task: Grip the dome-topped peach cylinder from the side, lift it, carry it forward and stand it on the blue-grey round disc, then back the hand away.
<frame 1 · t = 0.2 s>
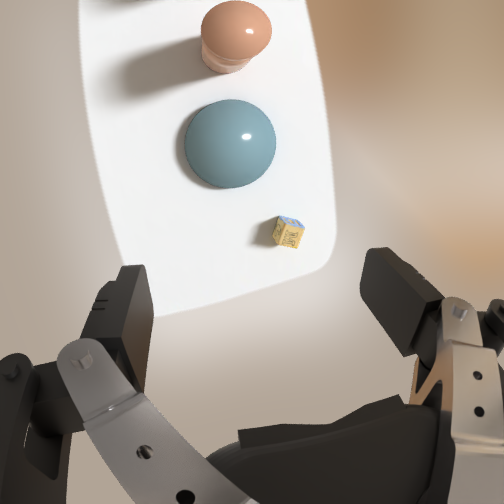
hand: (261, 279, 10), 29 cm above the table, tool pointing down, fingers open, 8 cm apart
alphabet block: (284, 227, 42), on the table
blue-grey round disc: (230, 143, 35), on the table
dome-topped peach cylinder: (226, 51, 30), on the table
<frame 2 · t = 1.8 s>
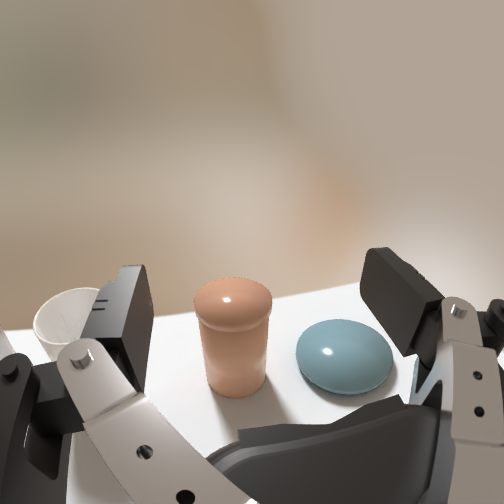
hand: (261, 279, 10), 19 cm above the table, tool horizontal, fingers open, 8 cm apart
white cup: (105, 387, 26), on the table
blue-grey round disc: (343, 358, 31), on the table
dome-topped peach cylinder: (235, 375, 29), on the table
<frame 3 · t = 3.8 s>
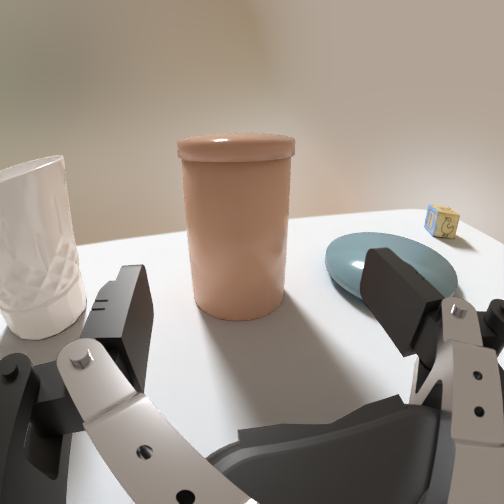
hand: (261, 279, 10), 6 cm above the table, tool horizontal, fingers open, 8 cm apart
white cup: (48, 312, 17), on the table
alphabet block: (438, 235, 30), on the table
blue-grey round disc: (391, 274, 22), on the table
dome-topped peach cylinder: (238, 291, 20), on the table
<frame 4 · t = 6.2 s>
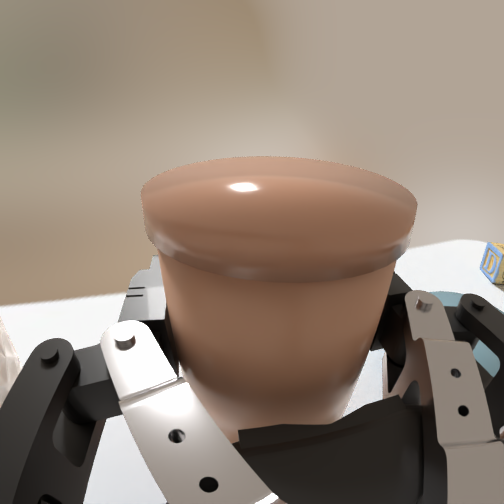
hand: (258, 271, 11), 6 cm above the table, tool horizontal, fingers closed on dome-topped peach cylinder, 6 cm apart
alphabet block: (495, 278, 21), on the table
blue-grey round disc: (465, 359, 13), on the table
dome-topped peach cylinder: (266, 417, 12), on the table, touching gripper
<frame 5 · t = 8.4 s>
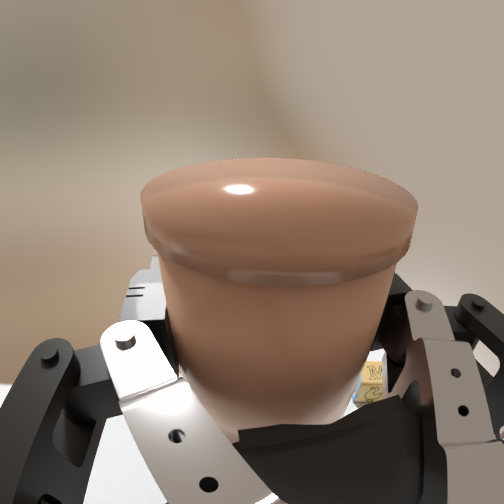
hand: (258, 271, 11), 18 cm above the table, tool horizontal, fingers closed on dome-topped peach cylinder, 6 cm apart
alphabet block: (365, 391, 25), on the table
dome-topped peach cylinder: (266, 418, 11), point 12 cm above the table, touching gripper
when the fingers open (8 cm above the table, at t = 10.7 s): dome-topped peach cylinder drops 1 cm, resting on blue-grey round disc.
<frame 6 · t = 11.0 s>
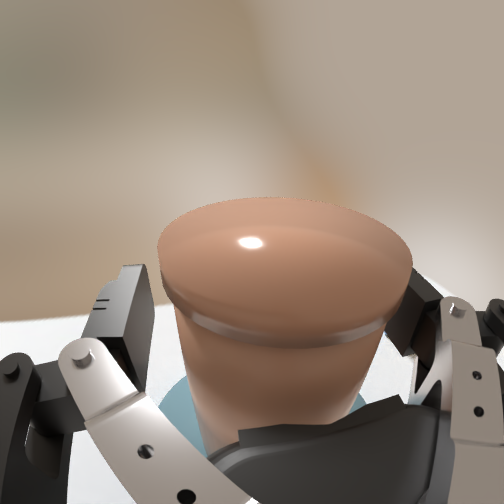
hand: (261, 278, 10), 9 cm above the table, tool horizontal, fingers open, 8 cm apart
blue-grey round disc: (263, 442, 13), on the table
dome-topped peach cylinder: (267, 433, 12), point 1 cm above the table, touching blue-grey round disc
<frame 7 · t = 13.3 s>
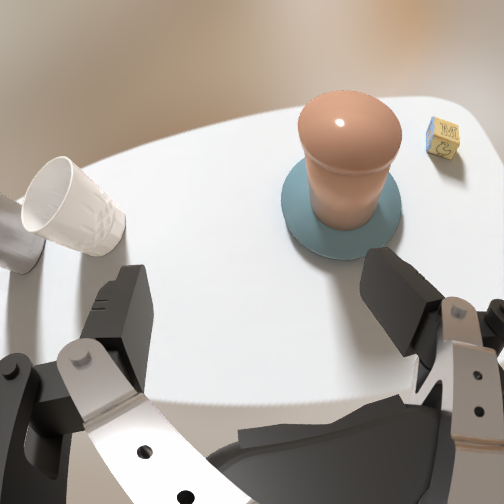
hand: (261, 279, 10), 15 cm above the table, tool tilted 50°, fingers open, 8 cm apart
white cup: (104, 230, 32), on the table
alphabet block: (437, 147, 26), on the table
blue-grey round disc: (341, 203, 26), on the table
dome-topped peach cylinder: (343, 199, 25), point 1 cm above the table, touching blue-grey round disc
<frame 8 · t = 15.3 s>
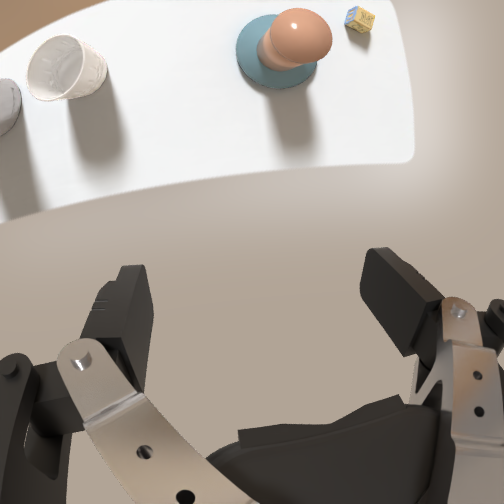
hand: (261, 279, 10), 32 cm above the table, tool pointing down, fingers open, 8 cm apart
white cup: (86, 73, 30), on the table
alphabet block: (354, 21, 32), on the table
blue-grey round disc: (276, 51, 33), on the table
dome-topped peach cylinder: (279, 51, 32), point 1 cm above the table, touching blue-grey round disc
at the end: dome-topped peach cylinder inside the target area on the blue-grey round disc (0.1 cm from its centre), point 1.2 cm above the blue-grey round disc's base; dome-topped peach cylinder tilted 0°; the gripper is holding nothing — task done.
